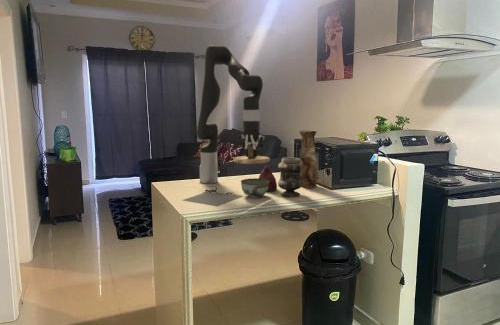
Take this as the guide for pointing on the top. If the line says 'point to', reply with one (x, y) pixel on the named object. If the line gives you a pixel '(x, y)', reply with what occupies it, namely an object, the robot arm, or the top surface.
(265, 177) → the vegetable
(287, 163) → the apothecary jar
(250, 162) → the lid
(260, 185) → the bowl
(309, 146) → the vase
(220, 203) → the mat
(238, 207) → the top surface
